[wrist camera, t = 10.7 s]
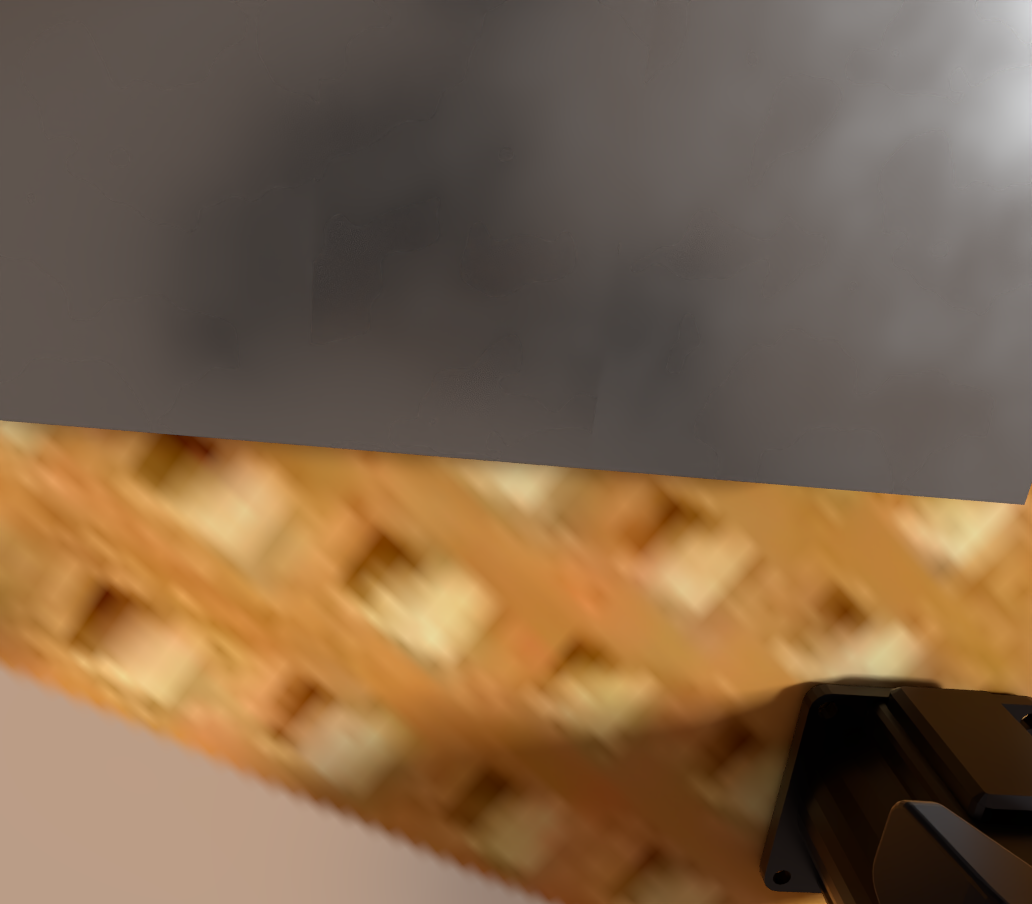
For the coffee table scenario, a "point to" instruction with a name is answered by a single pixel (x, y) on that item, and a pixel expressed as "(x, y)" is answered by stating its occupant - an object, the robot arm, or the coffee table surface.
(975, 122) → the bore block
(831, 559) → the coffee table surface
